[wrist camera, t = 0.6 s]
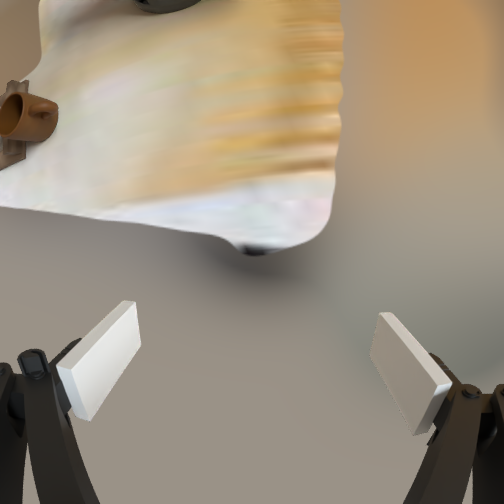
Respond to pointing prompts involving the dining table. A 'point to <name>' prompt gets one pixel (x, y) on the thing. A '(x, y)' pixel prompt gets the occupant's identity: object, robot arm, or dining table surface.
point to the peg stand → (8, 150)
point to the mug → (27, 117)
